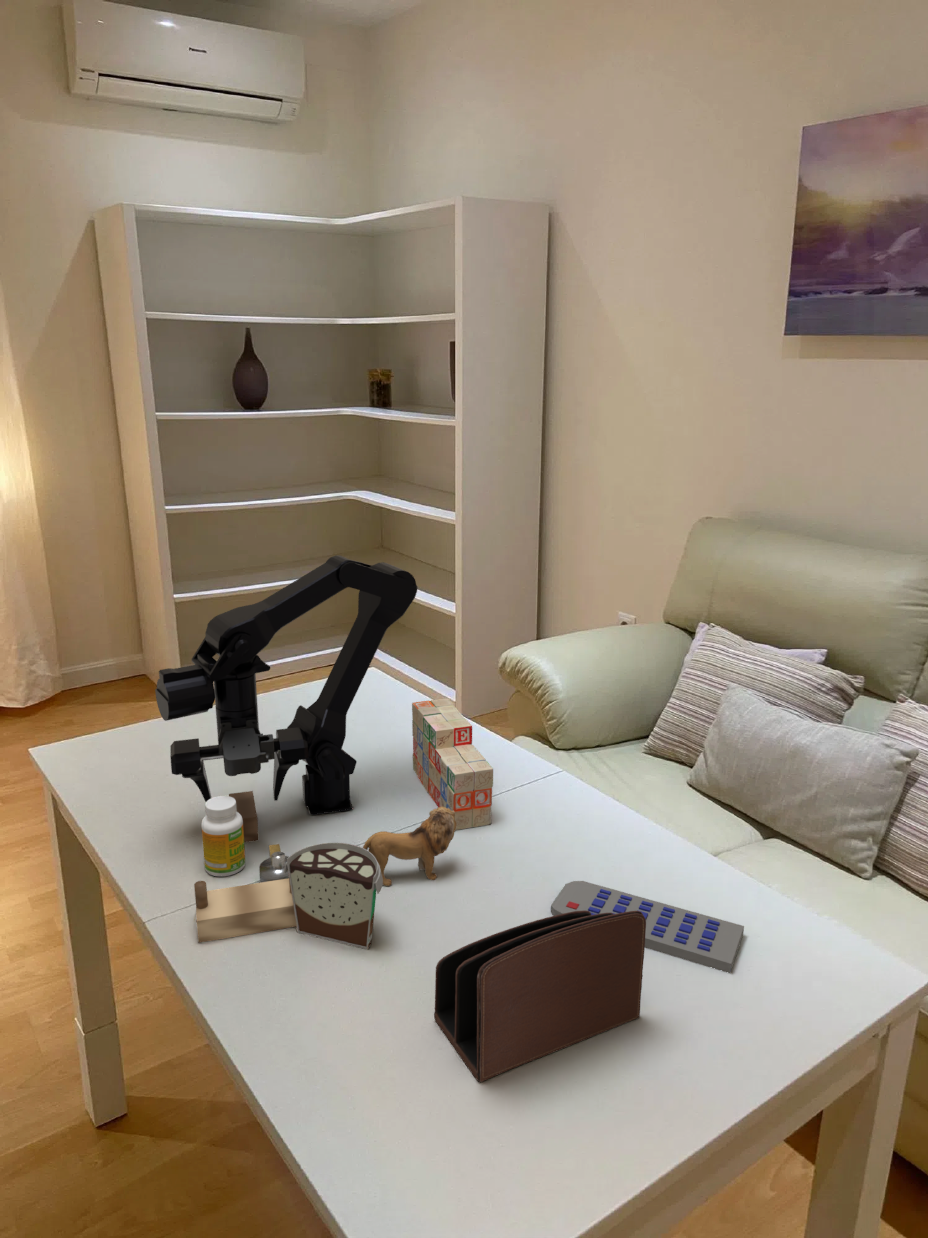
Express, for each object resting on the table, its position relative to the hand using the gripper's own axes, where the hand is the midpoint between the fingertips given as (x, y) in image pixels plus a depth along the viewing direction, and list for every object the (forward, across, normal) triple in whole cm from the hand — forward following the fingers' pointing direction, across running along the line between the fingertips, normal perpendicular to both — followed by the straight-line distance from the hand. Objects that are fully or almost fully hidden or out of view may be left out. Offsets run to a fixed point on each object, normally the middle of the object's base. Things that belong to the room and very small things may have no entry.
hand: (243, 803), depth 133 cm
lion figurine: (+4, +20, -18) cm, 27 cm away
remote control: (+5, +46, -37) cm, 59 cm away
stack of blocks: (+4, +32, +2) cm, 32 cm away
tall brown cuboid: (+4, 0, 0) cm, 4 cm away
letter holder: (+4, +27, -48) cm, 56 cm away
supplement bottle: (+4, -3, -10) cm, 11 cm away
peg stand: (+4, -1, -22) cm, 23 cm away
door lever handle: (+4, +3, -13) cm, 14 cm away
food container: (+4, +10, -27) cm, 29 cm away
